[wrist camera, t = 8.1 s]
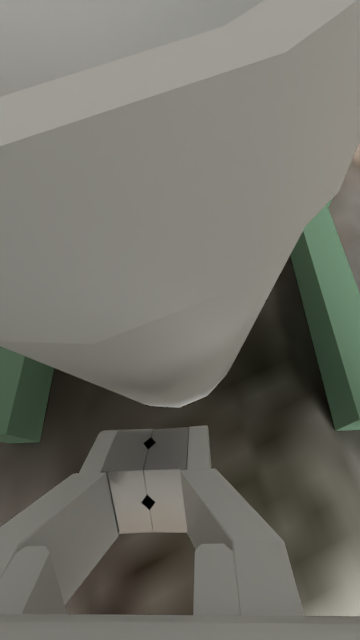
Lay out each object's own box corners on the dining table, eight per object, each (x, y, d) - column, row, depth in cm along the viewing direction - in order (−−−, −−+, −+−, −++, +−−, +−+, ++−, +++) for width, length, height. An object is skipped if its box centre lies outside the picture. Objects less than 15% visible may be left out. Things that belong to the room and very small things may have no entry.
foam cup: (170, 246, 18) (92, -131, 7) (304, 334, 15) (586, -166, 3) (46, 355, 16) (-392, 32, 4) (170, 496, 12) (-575, 679, 1)
